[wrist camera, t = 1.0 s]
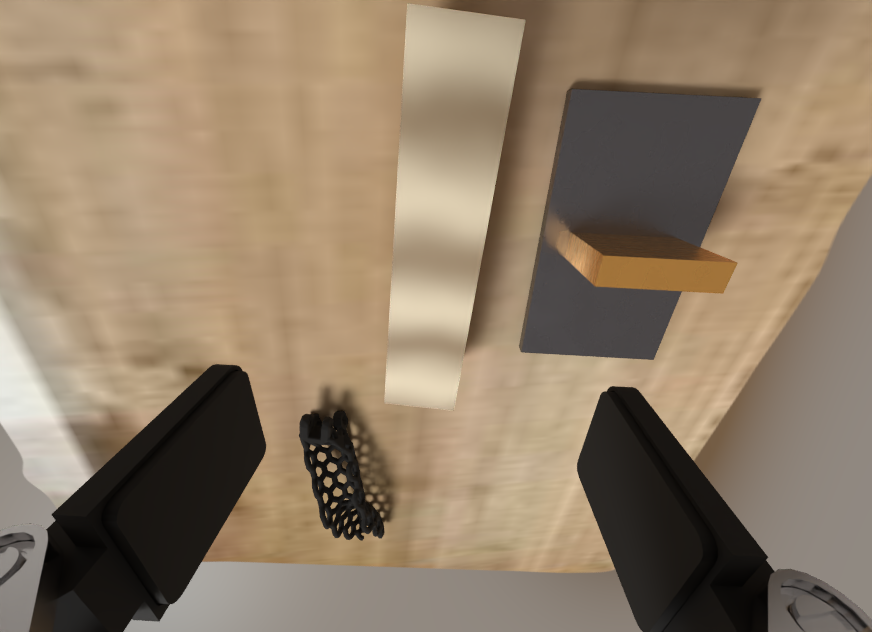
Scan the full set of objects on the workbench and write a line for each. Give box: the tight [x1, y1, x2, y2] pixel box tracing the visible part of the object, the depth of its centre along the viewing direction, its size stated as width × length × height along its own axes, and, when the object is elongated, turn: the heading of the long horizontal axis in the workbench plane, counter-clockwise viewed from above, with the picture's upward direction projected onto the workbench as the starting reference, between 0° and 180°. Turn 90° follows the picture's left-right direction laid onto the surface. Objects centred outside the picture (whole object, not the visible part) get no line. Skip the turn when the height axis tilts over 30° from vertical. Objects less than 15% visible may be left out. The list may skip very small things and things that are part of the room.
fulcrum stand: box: [519, 89, 761, 360], centre depth 24 cm, size 20×12×7 cm, turn 177°
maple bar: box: [384, 3, 526, 411], centre depth 24 cm, size 24×6×7 cm, turn 173°
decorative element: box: [299, 411, 384, 540], centre depth 37 cm, size 22×5×6 cm, turn 10°
